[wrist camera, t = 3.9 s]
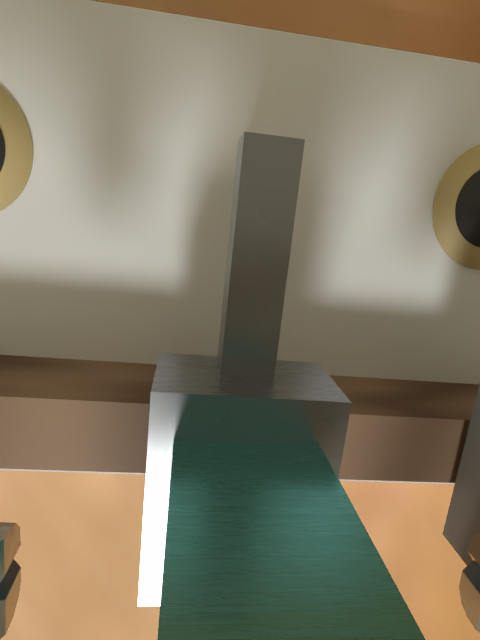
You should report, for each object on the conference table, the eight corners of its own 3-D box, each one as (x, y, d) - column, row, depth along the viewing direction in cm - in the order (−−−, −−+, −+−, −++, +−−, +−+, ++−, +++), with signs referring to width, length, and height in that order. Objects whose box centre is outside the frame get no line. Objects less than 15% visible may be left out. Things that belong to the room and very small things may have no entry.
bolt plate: (648, 108, 15) (702, 96, 14) (543, 466, 19) (577, 490, 17) (-345, -47, 12) (-434, -89, 10) (-262, 435, 15) (-318, 463, 13)
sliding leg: (318, 166, 13) (733, 26, 3) (276, 477, 15) (429, 967, 5) (177, 149, 12) (121, -89, 2) (156, 473, 14) (82, 1009, 5)
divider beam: (634, 208, 15) (981, 206, 8) (553, 475, 17) (776, 639, 11) (-342, 88, 11) (-1076, -78, 5) (-276, 446, 13) (-710, 666, 7)
